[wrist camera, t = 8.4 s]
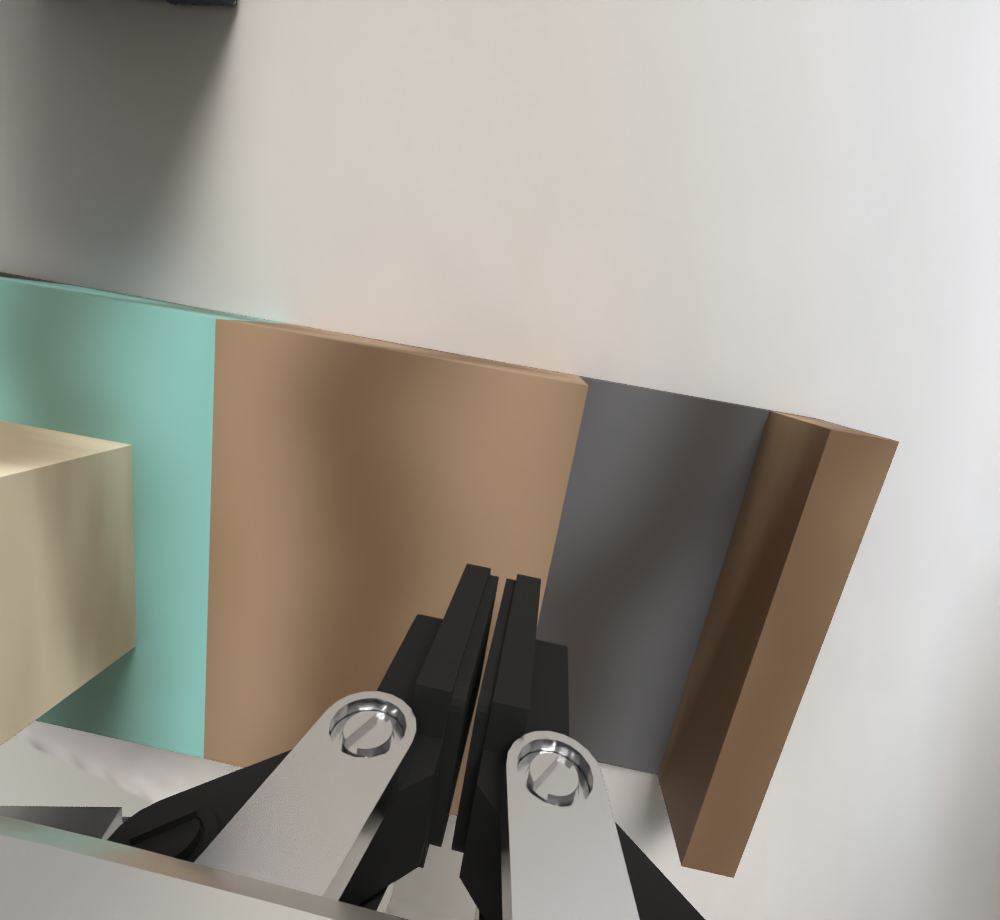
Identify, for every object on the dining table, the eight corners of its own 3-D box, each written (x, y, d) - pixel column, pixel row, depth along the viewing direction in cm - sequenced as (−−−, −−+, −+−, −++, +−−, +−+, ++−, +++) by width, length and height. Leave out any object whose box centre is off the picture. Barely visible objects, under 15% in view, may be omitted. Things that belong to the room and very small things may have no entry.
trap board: (816, 418, 14) (899, 441, 11) (697, 774, 18) (733, 877, 14) (-158, 243, 16) (-349, 217, 12) (-105, 600, 19) (-247, 656, 16)
